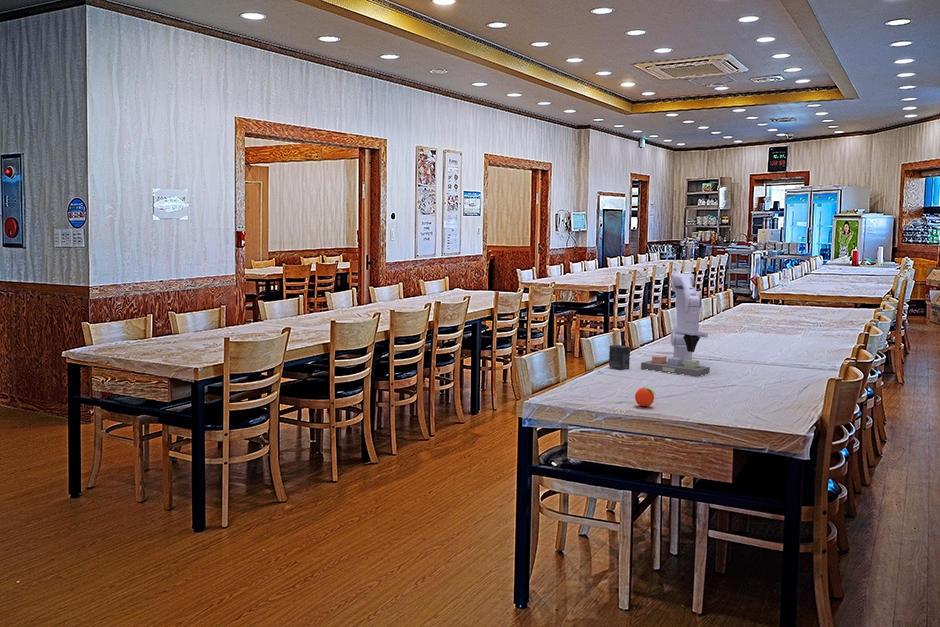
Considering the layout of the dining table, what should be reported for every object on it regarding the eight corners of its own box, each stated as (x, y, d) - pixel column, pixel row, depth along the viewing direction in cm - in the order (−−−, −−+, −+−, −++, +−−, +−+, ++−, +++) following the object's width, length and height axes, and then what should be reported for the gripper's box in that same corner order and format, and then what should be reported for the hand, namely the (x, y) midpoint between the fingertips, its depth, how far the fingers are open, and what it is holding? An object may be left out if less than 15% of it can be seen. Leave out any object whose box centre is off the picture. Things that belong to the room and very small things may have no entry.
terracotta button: (656, 364, 386) (657, 355, 386) (666, 365, 383) (666, 356, 382) (651, 365, 382) (652, 356, 382) (661, 366, 379) (661, 357, 379)
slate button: (672, 366, 381) (673, 357, 380) (682, 367, 378) (682, 358, 377) (667, 367, 377) (668, 358, 377) (677, 368, 374) (677, 359, 374)
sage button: (688, 368, 376) (689, 359, 375) (698, 369, 372) (699, 360, 372) (683, 369, 372) (684, 360, 372) (693, 371, 369) (694, 361, 368)
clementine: (660, 407, 300) (660, 387, 300) (650, 410, 295) (651, 390, 295) (640, 403, 306) (641, 384, 305) (630, 406, 301) (631, 387, 300)
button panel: (653, 366, 391) (653, 359, 391) (709, 373, 373) (709, 367, 373) (640, 369, 382) (640, 362, 382) (697, 377, 364) (697, 370, 363)
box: (629, 369, 382) (630, 346, 380) (621, 370, 378) (622, 347, 377) (616, 366, 388) (617, 344, 386) (608, 367, 384) (609, 345, 383)
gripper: (673, 321, 375) (672, 350, 377) (703, 324, 366) (702, 354, 367) (680, 320, 381) (679, 349, 382) (710, 322, 371) (709, 352, 373)
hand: (690, 351), depth 375 cm, fingers closed
